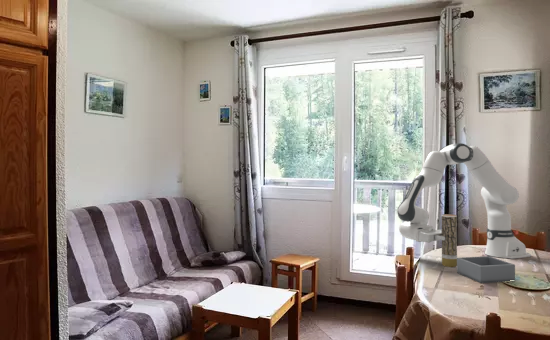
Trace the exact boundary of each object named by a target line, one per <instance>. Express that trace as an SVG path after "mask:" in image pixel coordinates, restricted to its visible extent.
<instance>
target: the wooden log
mask: <svg viewBox="0 0 550 340" xmlns="http://www.w3.org/2000/svg"><path fill="white" fill-rule="evenodd" d="M457 220H458V218H457V214H450V213H448V214H447V213H446V214H445V213H444V214H441V230H442V236H446V240H441V264H442V266H443V267H446V268H457V258H458V230H457V229H458V228H457V226H458V223H457V222H458V221H457Z"/></svg>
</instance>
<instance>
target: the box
mask: <svg viewBox="0 0 550 340" xmlns="http://www.w3.org/2000/svg"><path fill="white" fill-rule="evenodd" d="M456 273H457V274H459V275H461V276H463V277H465V278H467V279H469V280H472V281H475V282H477V283H479V284H490V283H491V284H492V283H506V282H505V281H510V280H515V281H516V265H515V264H513V263H511V262H508V261H505V260H502V259H498V258H497V257H494V256H489V255H485V256H481V255H480V256H464V257H457V266H456ZM510 282H511V281H510Z"/></svg>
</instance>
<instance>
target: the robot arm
mask: <svg viewBox="0 0 550 340" xmlns="http://www.w3.org/2000/svg"><path fill="white" fill-rule="evenodd" d="M458 164H464V165H465V166H466V167H467V169H468V171H469V172H470V173H471V174H472V176H473V178H474V179H475V181H476V182H477V183H478V184H480V185H481V186H482V187H481V190H480V196H481V198H482V200H483V201H484V205H485V209H486V214H487V215H486V216H487V228H486V238H487V240H486V247H485V251H484V255H485V256H490V257H493V258H504V259H505V258H506V259H512V260H513V259H521V258H522V259H523V258H530V257H532V254H531V253H529V252H527V247H526V245H525V244H524V243H523V242H522V241H520V240H519V239H518V238H517V237H516V236H515V235H519V231H518V230H512V215H511V212H509V210H508V207H507V206H508V205H513V204H515V203H516V202H517V201H518V200H519V198H520V194H519V190H518V189H517V188H516V187H514V186H513V185H512V184H510V183H509V182H508V181H507V180H506V179H505V178H504V177H503V175H501V174H500V173H499V172H498V171H497V169H496V167H495V166H494V165H493V164H492V162H491V161H490V159H489V158H488V156H487V155H486V154H485V153H484V152H483V151H482V150H481V148H479V147H478V146H476V145H470V146H469V145H467V144H465V143H463V142H462V143H461V142H459V143H458V142H457V143H452V144H449V145H447V146H443V147H442V148H441V149H439V150H433V151H431V152H429V153H428V155H427V156H426V158H425V161H424V162H423V164H422V168H421V171H420V172H419V174H418V175H417V176H415V177H414V178H413V180H412V182H411V184H410V186H409V188H408V190H407V192H406V193H405V196H404V198H403V200H402V201H401V202H400V204H399V206H398V207H397V217H398V218H399V220H401V221H403V222H402V223H400V225H399V227H398V229H399V233H400V235H401V236H402V237H403V238H405V239H409V240H413V241H415V242H418V243H428V244H431V243H432V242H436V241H442V240H446V236H442V229H435V228H434V227H433V226H432V225H428V222H429V219H430V214H429V211H428V210H427V209H425V208H424V207H420V206H418V205H416V202H417V200H418V198H419V195H420V194H421V192H422V190H423V189H425V188H429V187H430V188H431V187H435V186H437V185H438V184H440V182H441V181H442V179H443V175H444V172H445V168H446V167H447V166H451V165H458Z"/></svg>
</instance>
